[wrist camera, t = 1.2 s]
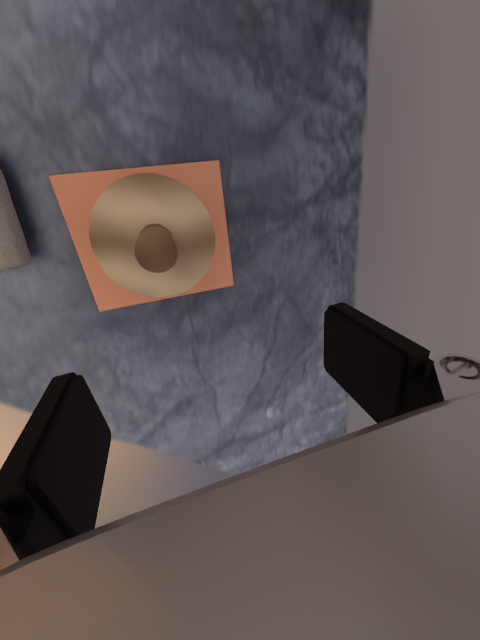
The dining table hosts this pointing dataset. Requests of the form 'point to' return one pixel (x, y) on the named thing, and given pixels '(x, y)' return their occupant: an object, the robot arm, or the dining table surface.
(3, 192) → the ceramic mug
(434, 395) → the robot arm
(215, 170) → the mat
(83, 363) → the dining table surface
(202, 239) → the lid
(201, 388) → the dining table surface
